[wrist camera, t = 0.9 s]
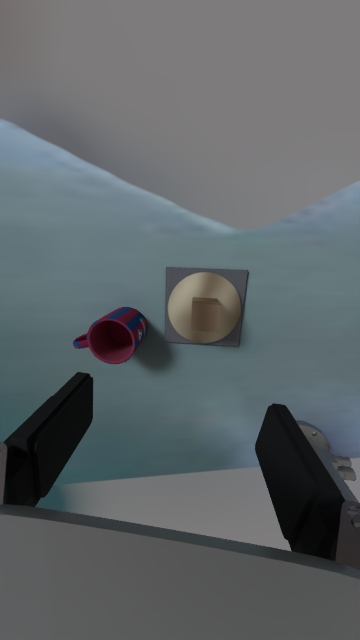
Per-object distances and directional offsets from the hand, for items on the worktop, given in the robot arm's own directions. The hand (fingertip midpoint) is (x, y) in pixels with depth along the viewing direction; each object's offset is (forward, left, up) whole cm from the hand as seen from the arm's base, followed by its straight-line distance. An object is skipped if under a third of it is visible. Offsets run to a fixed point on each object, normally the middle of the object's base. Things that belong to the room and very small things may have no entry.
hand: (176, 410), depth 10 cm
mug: (+12, +3, -22) cm, 25 cm away
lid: (-2, -1, -22) cm, 22 cm away
